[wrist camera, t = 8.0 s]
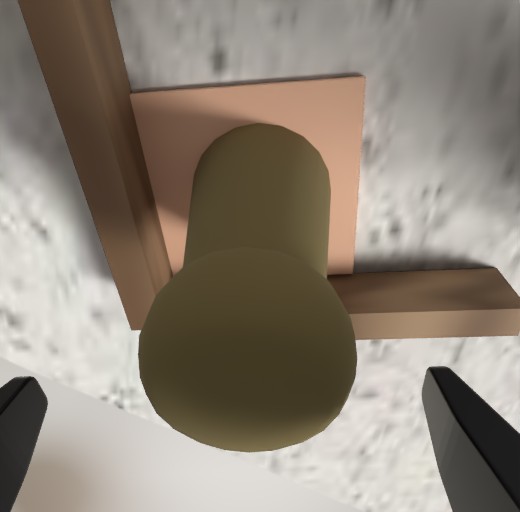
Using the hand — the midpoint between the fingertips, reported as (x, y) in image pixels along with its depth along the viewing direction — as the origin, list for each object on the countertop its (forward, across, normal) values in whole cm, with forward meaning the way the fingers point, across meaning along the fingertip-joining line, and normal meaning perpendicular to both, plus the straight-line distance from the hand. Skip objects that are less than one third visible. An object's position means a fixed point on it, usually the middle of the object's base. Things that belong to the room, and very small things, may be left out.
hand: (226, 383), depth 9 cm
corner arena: (+10, -4, -2) cm, 11 cm away
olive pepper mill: (+10, 0, 0) cm, 10 cm away
